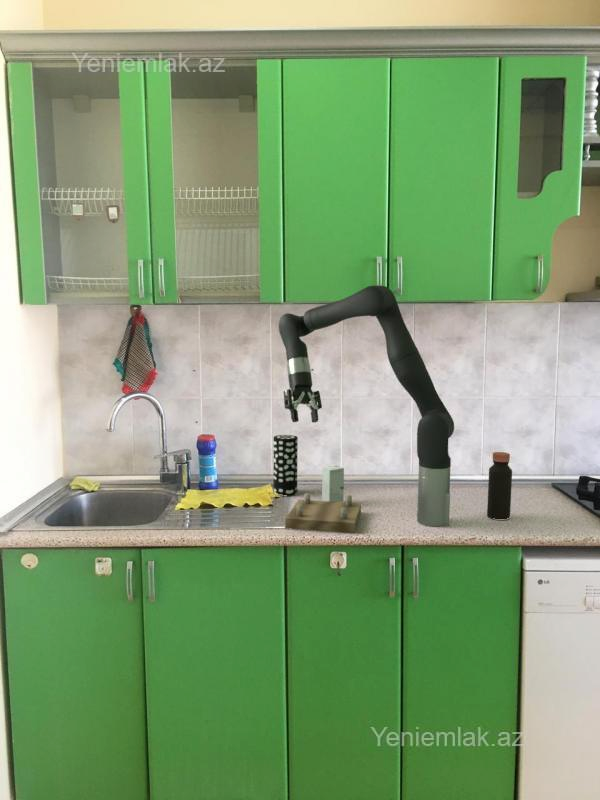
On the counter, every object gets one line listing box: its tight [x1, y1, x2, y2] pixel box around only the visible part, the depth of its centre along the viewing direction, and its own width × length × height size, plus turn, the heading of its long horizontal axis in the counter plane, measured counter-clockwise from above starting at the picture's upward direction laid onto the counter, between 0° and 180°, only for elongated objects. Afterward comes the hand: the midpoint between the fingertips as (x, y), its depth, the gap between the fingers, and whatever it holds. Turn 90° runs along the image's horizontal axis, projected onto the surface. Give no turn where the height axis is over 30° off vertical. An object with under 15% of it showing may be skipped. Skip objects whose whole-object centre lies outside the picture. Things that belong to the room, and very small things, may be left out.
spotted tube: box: [272, 434, 299, 497], centre depth 214 cm, size 8×8×20 cm
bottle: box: [486, 451, 513, 520], centre depth 188 cm, size 7×7×20 cm
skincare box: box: [321, 465, 345, 502], centre depth 202 cm, size 6×4×12 cm
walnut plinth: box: [284, 492, 362, 534], centre depth 185 cm, size 20×20×6 cm
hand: (305, 422), depth 198 cm, fingers open, 8 cm apart
